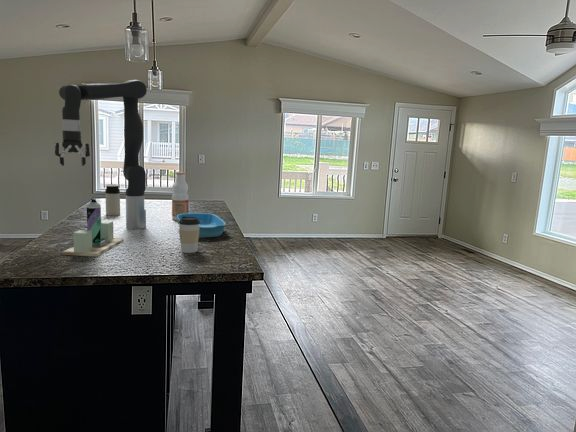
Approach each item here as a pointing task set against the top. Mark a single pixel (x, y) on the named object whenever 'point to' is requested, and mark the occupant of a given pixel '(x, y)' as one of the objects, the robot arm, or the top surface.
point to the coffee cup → (189, 234)
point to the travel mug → (112, 199)
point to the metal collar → (100, 243)
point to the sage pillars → (85, 237)
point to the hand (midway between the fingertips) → (73, 165)
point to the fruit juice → (179, 196)
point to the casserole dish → (207, 224)
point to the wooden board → (94, 249)
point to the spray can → (94, 220)
